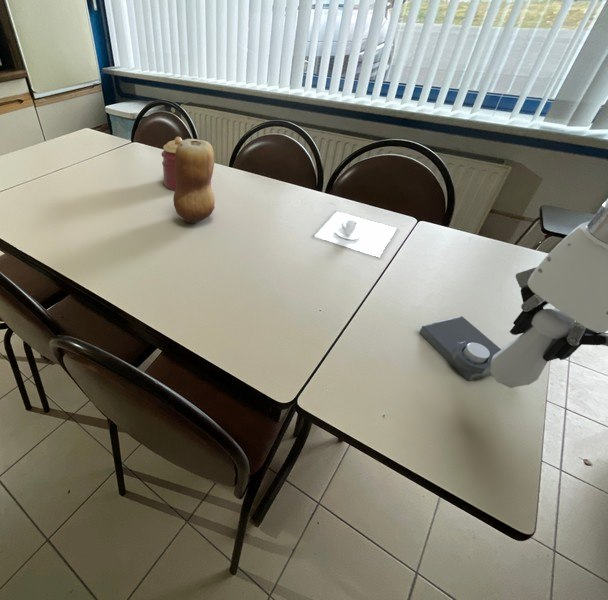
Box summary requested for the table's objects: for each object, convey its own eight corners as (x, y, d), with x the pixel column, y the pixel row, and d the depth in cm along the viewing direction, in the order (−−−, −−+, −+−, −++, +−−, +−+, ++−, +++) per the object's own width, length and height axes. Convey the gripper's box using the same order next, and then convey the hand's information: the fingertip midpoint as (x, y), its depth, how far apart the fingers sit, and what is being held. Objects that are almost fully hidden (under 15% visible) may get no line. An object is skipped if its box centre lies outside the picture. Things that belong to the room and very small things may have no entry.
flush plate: (512, 370, 75) (523, 357, 73) (465, 384, 73) (475, 371, 70) (457, 322, 86) (465, 310, 83) (415, 333, 83) (422, 320, 80)
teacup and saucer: (341, 224, 120) (344, 212, 117) (365, 231, 116) (369, 219, 113) (331, 235, 114) (334, 224, 112) (356, 243, 111) (360, 232, 108)
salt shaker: (499, 357, 59) (549, 296, 50) (536, 383, 55) (597, 323, 47) (476, 370, 57) (523, 309, 48) (512, 398, 53) (571, 338, 45)
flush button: (490, 360, 72) (495, 355, 71) (474, 365, 72) (478, 359, 70) (474, 346, 75) (478, 340, 74) (458, 350, 74) (462, 344, 73)
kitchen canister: (186, 174, 149) (185, 129, 138) (203, 186, 141) (203, 138, 129) (158, 181, 144) (153, 135, 132) (173, 194, 136) (170, 145, 124)
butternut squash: (217, 227, 118) (219, 148, 101) (176, 231, 116) (170, 151, 100) (210, 207, 128) (211, 132, 111) (172, 210, 127) (167, 135, 110)
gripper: (767, 270, 34) (619, 386, 46) (582, 192, 46) (503, 301, 58) (714, 284, 32) (575, 401, 44) (536, 200, 44) (465, 310, 56)
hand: (535, 343), depth 51 cm, fingers closed on salt shaker, 4 cm apart
